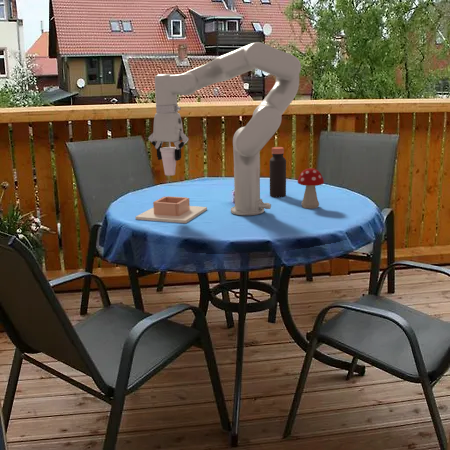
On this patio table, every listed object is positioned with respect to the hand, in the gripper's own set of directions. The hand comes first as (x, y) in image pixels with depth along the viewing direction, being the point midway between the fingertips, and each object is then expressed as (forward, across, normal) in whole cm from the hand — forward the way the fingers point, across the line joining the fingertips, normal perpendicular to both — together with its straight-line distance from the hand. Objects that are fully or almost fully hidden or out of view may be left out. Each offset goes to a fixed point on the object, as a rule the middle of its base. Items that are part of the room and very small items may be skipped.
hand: (169, 159), depth 218 cm
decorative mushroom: (+21, -47, -24) cm, 57 cm away
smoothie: (+6, 0, 0) cm, 6 cm away
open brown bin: (+21, 0, 0) cm, 21 cm away
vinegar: (+21, -30, -39) cm, 54 cm away
